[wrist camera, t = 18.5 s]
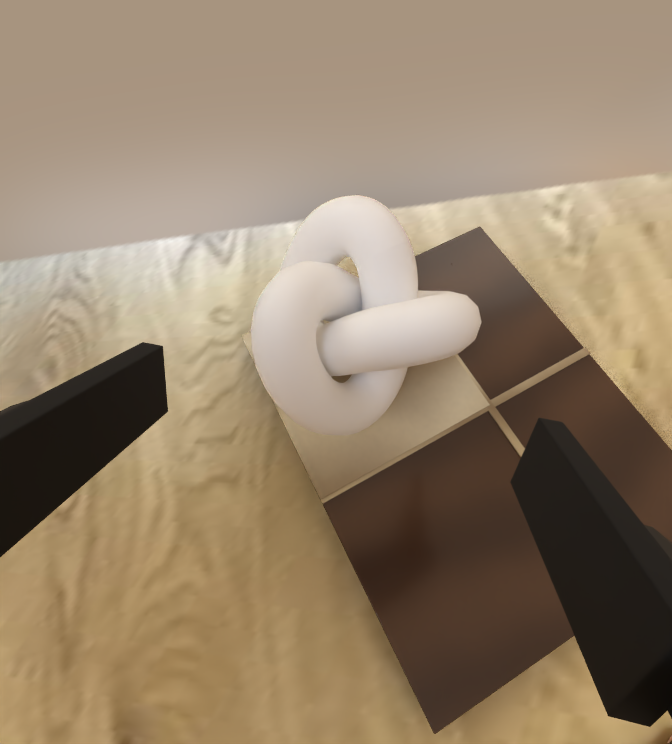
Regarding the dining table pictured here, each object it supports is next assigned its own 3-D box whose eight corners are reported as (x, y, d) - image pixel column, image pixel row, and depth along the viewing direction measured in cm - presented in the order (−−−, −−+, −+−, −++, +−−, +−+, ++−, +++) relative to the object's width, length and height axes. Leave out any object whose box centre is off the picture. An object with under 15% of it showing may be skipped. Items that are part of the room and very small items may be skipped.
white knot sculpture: (392, 487, 21) (426, 475, 13) (224, 393, 23) (156, 329, 15) (464, 334, 24) (529, 243, 16) (311, 264, 26) (297, 153, 18)
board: (247, 345, 26) (240, 335, 25) (473, 239, 29) (480, 224, 28) (427, 717, 19) (435, 737, 17) (708, 521, 22) (738, 523, 20)
